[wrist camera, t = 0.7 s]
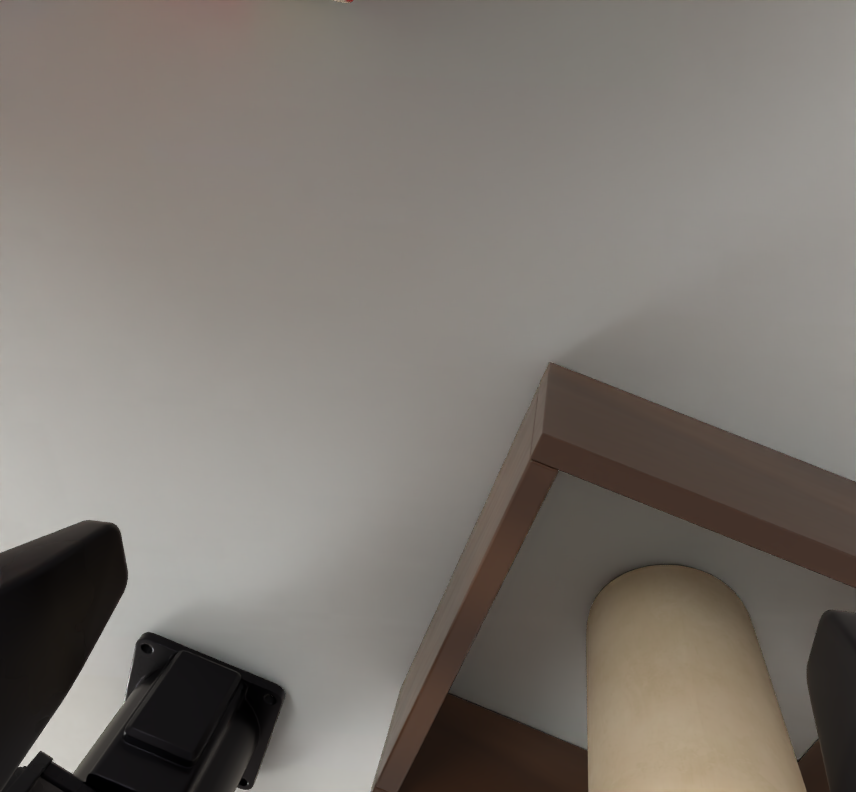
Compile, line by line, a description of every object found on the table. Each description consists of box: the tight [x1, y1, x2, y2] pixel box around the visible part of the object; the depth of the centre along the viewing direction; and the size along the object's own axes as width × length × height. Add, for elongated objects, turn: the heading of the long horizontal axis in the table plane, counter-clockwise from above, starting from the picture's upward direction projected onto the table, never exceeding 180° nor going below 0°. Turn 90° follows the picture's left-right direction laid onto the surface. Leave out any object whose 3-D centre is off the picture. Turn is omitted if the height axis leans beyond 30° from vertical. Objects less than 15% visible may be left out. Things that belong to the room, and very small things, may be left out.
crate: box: [371, 362, 856, 792], centre depth 23 cm, size 15×15×5 cm
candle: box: [586, 565, 807, 792], centre depth 21 cm, size 6×6×10 cm
